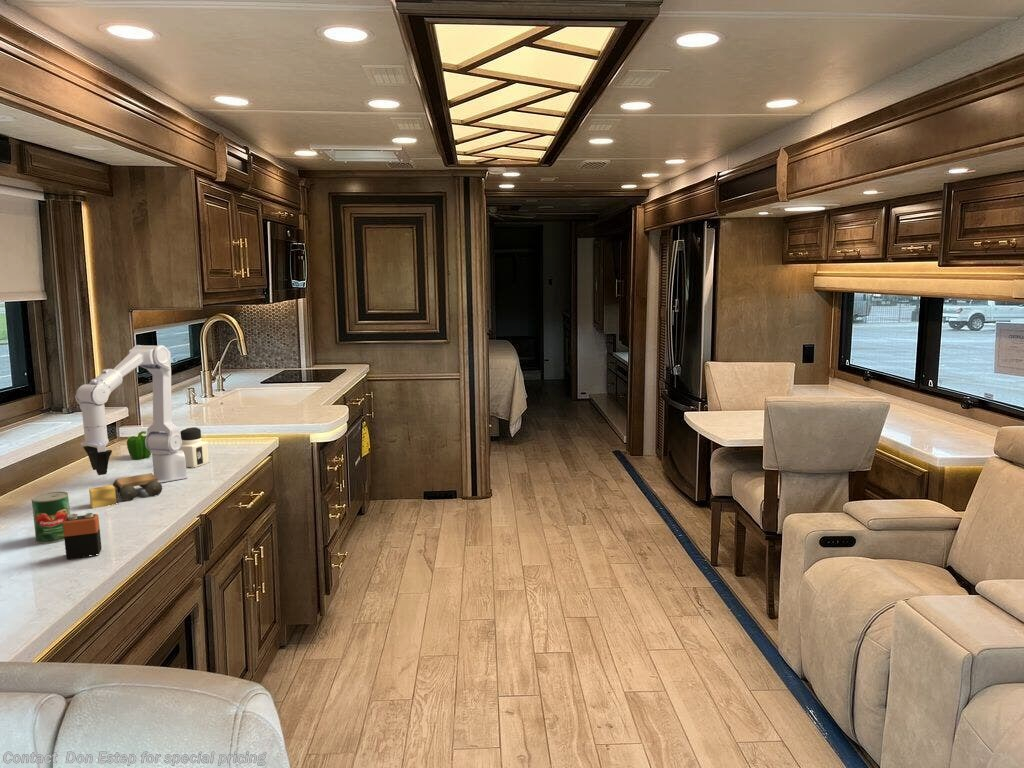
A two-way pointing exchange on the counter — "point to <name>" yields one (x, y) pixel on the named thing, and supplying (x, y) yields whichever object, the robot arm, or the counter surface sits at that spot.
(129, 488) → the trolley
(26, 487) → the counter surface
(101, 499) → the block
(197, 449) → the container
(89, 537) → the battery
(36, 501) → the canned tomato
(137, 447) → the bell pepper
